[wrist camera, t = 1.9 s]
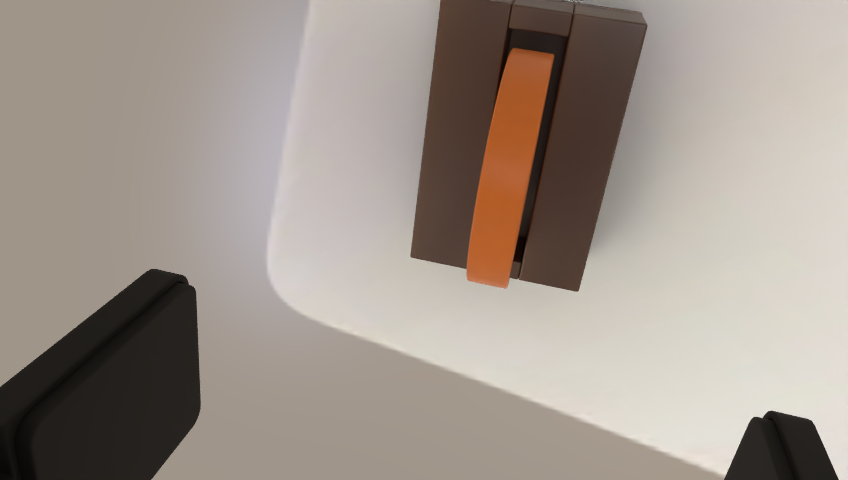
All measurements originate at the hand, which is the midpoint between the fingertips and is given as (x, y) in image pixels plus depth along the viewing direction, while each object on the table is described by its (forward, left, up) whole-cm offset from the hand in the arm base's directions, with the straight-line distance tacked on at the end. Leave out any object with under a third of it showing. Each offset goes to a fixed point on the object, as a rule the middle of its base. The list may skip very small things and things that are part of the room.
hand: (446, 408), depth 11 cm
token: (0, 0, -14) cm, 14 cm away
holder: (0, 0, -14) cm, 14 cm away
